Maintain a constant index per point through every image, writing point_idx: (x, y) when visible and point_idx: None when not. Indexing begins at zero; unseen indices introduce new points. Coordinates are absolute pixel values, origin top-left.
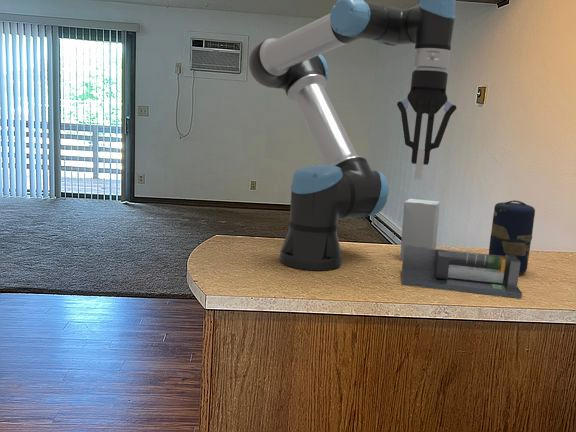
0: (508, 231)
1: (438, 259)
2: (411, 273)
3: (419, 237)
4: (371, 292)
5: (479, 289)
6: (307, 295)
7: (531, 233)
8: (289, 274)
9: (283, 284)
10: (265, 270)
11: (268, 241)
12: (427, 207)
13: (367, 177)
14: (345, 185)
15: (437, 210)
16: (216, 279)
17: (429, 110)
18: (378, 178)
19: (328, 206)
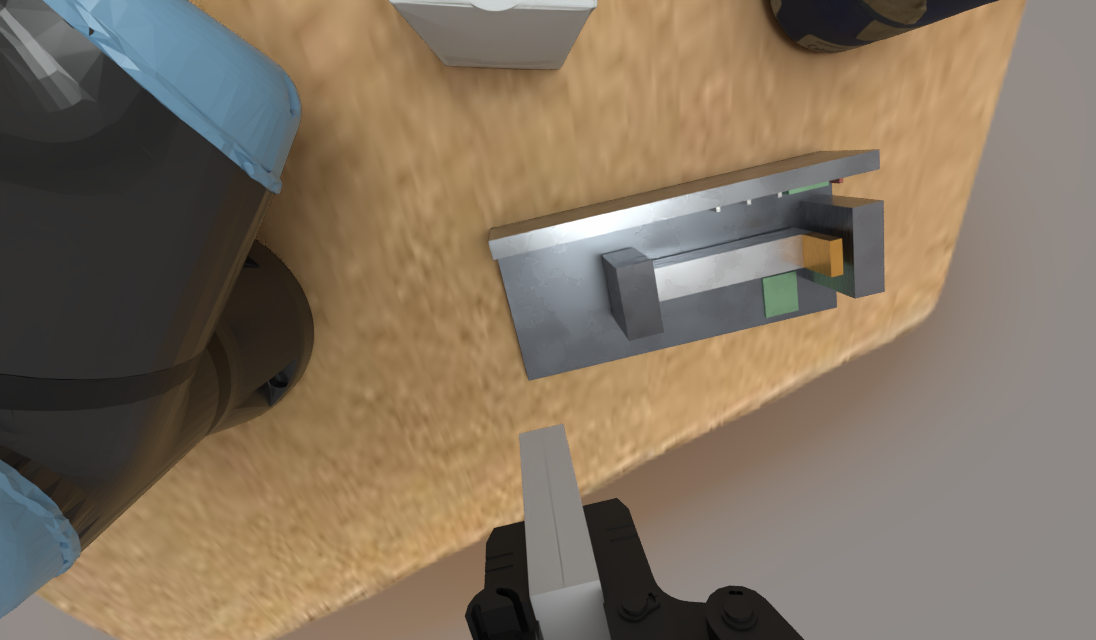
0: (931, 11)
1: (626, 335)
2: (537, 305)
3: (511, 54)
4: (477, 476)
5: (728, 332)
6: (362, 574)
7: None
8: (236, 469)
9: (275, 543)
10: (162, 476)
11: None
12: (543, 16)
13: (93, 224)
14: (95, 432)
15: None
16: (126, 601)
17: None
18: (145, 115)
19: (152, 480)
